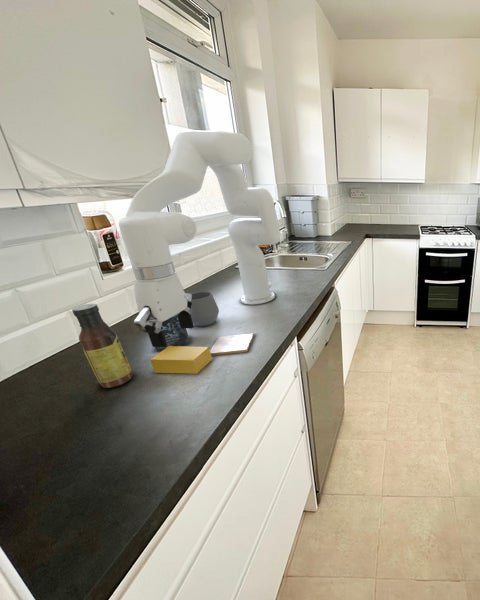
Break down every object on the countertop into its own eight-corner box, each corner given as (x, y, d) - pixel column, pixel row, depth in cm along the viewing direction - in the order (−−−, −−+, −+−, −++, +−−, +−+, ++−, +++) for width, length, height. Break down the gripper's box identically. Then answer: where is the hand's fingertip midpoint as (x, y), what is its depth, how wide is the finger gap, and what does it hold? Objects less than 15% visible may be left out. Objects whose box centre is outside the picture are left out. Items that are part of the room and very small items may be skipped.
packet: (172, 358, 85) (168, 346, 84) (212, 359, 85) (208, 346, 83) (154, 372, 79) (150, 359, 78) (197, 373, 79) (193, 360, 77)
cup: (186, 331, 100) (178, 302, 96) (191, 319, 108) (184, 292, 104) (220, 326, 103) (213, 298, 100) (222, 315, 111) (216, 289, 107)
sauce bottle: (140, 376, 78) (112, 303, 70) (111, 392, 72) (78, 314, 65) (122, 371, 80) (93, 299, 72) (93, 386, 74) (58, 310, 67)
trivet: (219, 338, 96) (218, 336, 95) (254, 335, 98) (253, 333, 97) (208, 356, 86) (207, 353, 86) (247, 351, 89) (246, 349, 88)
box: (156, 352, 88) (145, 318, 84) (157, 343, 93) (146, 311, 89) (189, 344, 92) (179, 311, 88) (188, 336, 97) (179, 305, 93)
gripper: (166, 261, 80) (183, 321, 87) (105, 282, 64) (131, 354, 71) (195, 262, 80) (209, 322, 86) (140, 283, 64) (163, 355, 70)
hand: (174, 336), depth 78 cm, fingers open, 9 cm apart
